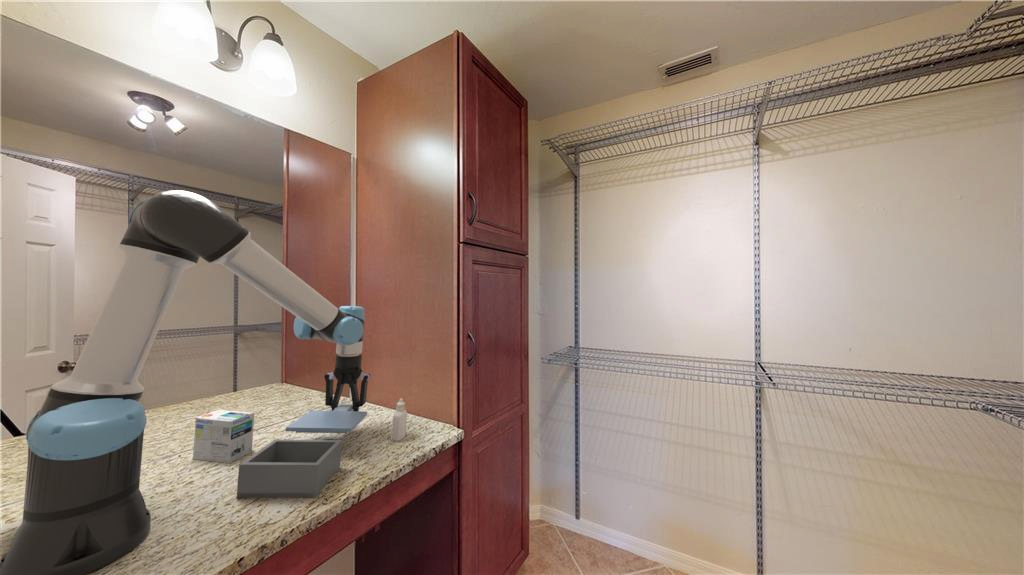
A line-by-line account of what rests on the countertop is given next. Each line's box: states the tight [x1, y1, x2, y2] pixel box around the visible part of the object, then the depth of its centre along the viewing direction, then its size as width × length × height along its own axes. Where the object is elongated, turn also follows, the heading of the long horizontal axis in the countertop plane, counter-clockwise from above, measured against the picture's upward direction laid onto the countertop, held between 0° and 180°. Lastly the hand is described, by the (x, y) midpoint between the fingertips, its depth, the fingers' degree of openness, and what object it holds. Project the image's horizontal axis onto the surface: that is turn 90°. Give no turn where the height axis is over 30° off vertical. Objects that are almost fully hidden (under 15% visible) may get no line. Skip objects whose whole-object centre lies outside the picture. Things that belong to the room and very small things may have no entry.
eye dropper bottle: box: [391, 398, 408, 442], centre depth 101 cm, size 4×6×12 cm
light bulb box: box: [192, 409, 255, 464], centre depth 85 cm, size 11×7×11 cm, turn 84°
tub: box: [236, 438, 343, 499], centre depth 75 cm, size 16×12×7 cm
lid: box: [285, 403, 368, 434], centre depth 96 cm, size 17×19×2 cm
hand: (344, 427), depth 103 cm, fingers closed on lid, 4 cm apart
